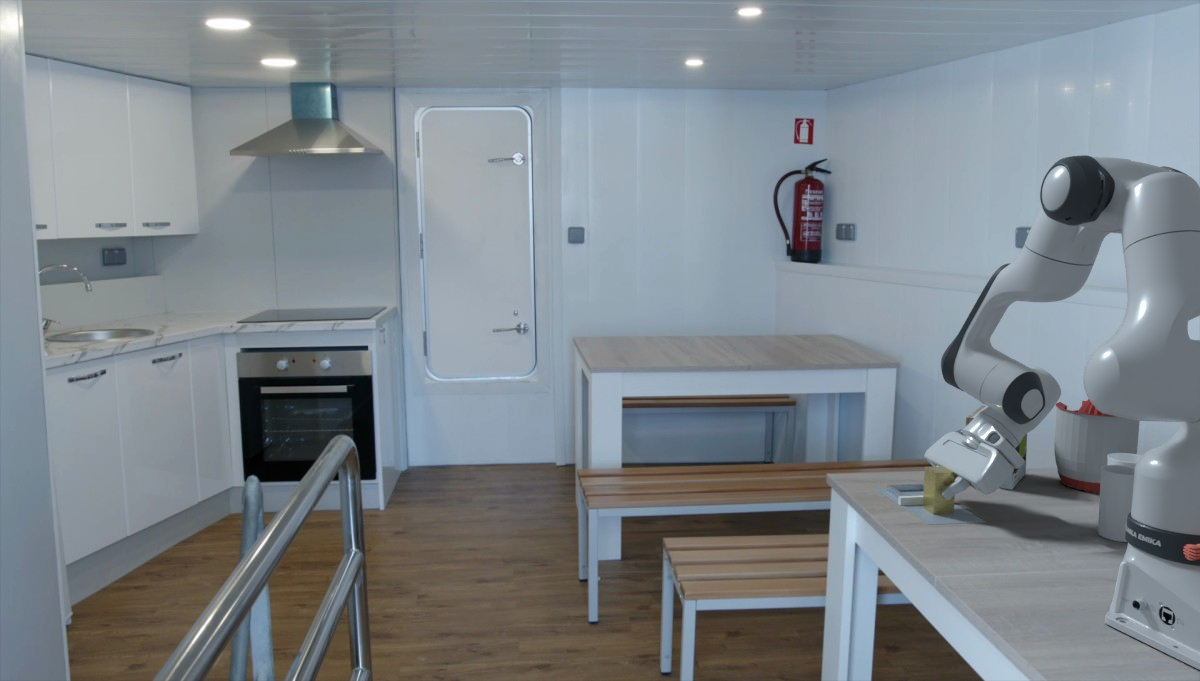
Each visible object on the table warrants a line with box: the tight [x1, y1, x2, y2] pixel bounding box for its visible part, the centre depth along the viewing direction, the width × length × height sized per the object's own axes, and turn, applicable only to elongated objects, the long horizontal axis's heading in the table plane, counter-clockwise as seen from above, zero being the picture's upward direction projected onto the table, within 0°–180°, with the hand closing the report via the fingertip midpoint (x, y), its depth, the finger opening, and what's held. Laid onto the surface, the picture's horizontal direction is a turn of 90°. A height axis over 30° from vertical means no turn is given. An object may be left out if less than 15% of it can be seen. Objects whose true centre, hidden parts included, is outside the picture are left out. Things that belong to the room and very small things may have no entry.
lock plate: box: [875, 487, 987, 526], centre depth 167 cm, size 22×11×2 cm, turn 7°
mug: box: [1097, 465, 1135, 543], centre depth 153 cm, size 10×7×12 cm, turn 150°
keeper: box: [886, 483, 924, 498], centre depth 173 cm, size 8×8×1 cm
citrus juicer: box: [1054, 398, 1141, 494], centre depth 182 cm, size 16×17×20 cm
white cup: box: [1107, 453, 1143, 468], centre depth 168 cm, size 8×8×10 cm
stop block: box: [923, 466, 956, 515], centre depth 163 cm, size 4×4×8 cm
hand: (935, 492), depth 163 cm, fingers closed on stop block, 4 cm apart
